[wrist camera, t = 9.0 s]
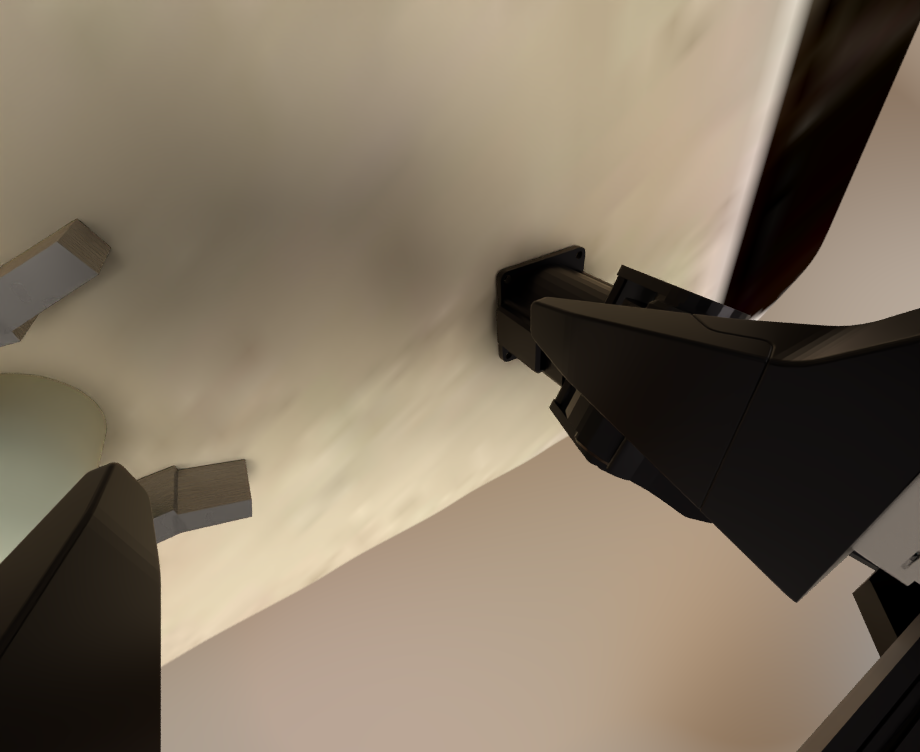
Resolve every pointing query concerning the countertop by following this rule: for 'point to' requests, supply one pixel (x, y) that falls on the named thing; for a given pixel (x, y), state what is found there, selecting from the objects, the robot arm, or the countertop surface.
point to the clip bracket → (50, 279)
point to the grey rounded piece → (42, 449)
